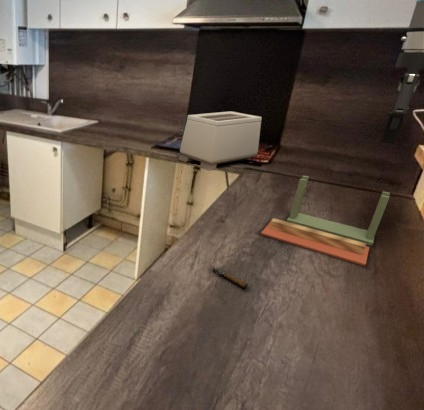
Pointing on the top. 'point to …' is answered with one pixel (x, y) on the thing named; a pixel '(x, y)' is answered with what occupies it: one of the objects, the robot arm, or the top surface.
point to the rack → (334, 227)
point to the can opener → (231, 278)
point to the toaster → (220, 138)
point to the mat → (317, 246)
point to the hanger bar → (318, 236)
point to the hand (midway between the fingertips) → (388, 138)
